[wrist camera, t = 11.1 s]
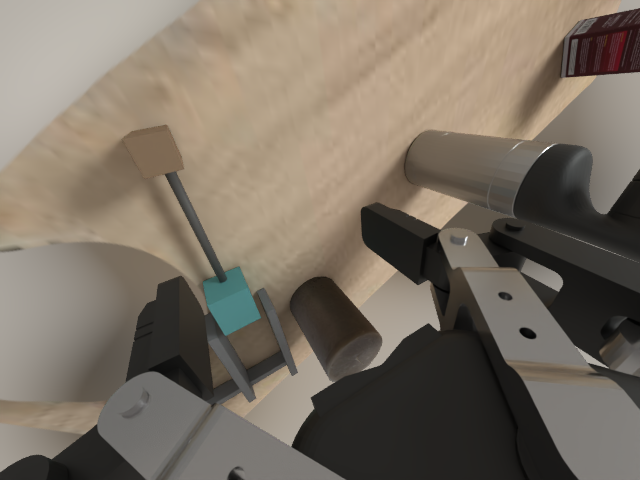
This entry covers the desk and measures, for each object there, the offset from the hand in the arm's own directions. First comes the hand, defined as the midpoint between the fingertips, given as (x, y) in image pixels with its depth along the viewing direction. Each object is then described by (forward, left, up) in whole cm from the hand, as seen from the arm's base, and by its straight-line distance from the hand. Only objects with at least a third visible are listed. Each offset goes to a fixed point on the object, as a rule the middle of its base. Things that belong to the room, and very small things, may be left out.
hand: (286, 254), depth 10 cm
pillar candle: (-8, +28, -22) cm, 36 cm away
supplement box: (-74, -4, -21) cm, 77 cm away
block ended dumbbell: (+4, +8, -21) cm, 23 cm away
